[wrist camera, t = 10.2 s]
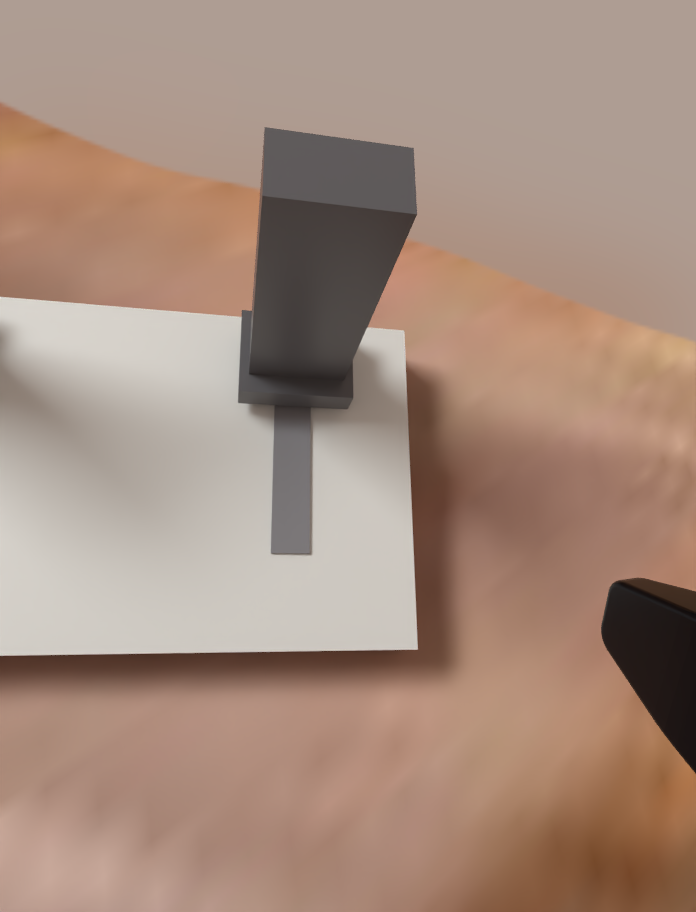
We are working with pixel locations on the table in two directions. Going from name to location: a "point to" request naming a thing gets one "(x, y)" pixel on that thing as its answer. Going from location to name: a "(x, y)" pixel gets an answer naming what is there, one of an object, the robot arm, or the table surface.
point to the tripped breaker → (320, 263)
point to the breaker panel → (194, 493)
